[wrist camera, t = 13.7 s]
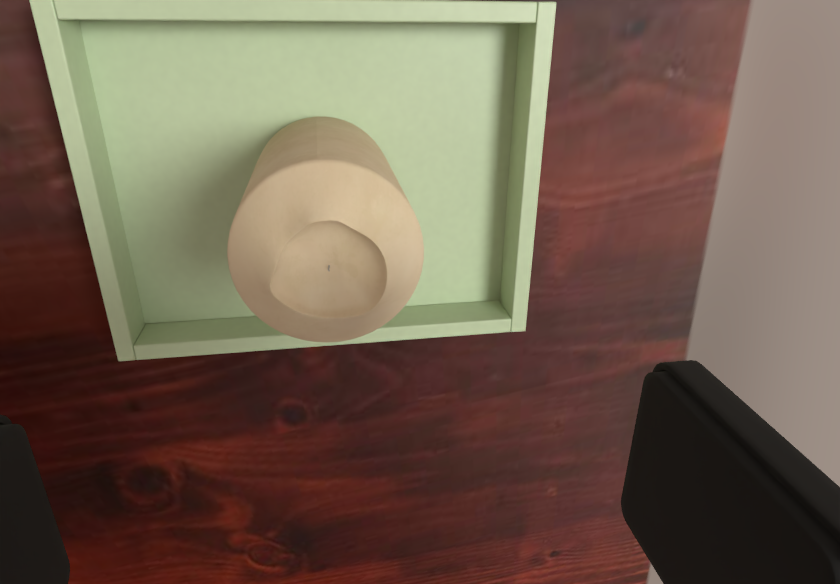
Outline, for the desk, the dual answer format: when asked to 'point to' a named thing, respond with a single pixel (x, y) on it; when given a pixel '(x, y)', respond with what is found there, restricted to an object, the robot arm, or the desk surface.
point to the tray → (275, 109)
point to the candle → (324, 234)
